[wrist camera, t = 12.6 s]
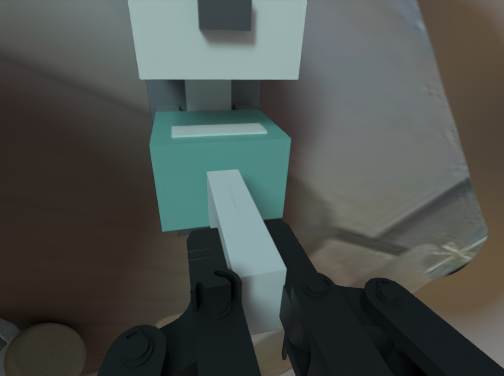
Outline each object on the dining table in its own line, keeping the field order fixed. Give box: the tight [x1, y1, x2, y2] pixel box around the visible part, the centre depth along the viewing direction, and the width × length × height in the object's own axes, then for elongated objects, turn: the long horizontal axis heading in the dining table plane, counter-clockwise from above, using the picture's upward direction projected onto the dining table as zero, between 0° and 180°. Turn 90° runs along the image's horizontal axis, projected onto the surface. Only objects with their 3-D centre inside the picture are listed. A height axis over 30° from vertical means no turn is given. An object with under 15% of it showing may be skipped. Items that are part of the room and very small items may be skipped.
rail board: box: [128, 0, 307, 236], centre depth 17 cm, size 19×8×10 cm, turn 179°
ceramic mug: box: [0, 318, 87, 376], centre depth 26 cm, size 11×8×8 cm
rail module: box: [149, 104, 291, 232], centre depth 18 cm, size 5×7×8 cm
